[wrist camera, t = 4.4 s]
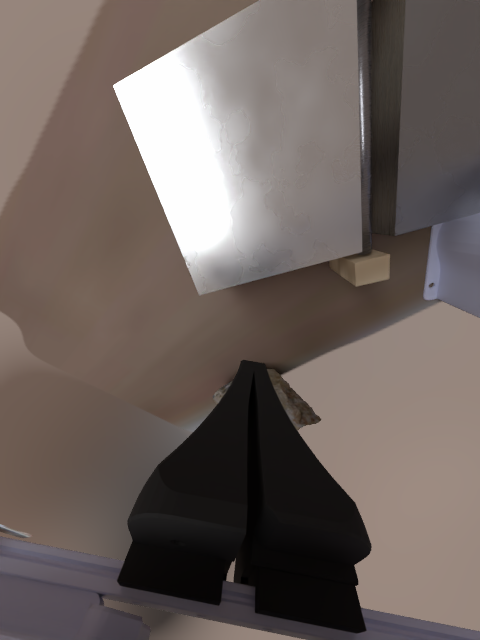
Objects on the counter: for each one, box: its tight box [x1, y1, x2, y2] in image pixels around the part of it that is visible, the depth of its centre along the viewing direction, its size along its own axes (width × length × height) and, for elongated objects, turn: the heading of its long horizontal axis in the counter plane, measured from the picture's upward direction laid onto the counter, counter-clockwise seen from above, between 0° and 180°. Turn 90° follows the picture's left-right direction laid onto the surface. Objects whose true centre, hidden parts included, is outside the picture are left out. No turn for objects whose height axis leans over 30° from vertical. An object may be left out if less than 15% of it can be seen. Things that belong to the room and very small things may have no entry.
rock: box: [213, 369, 321, 430], centre depth 23 cm, size 11×6×10 cm
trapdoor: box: [113, 0, 480, 295], centre depth 12 cm, size 12×18×4 cm
